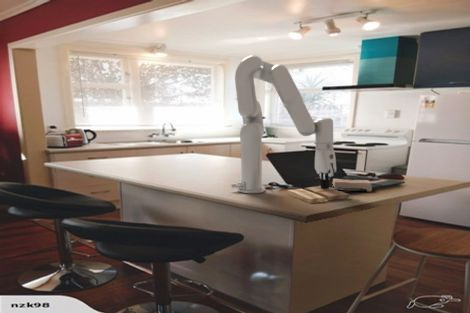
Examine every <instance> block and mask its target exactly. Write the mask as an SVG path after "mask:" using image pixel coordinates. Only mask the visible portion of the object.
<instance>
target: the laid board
mask: <svg viewBox="0 0 470 313" xmlns="http://www.w3.org/2000/svg"><path fill="white" fill-rule="evenodd" d="M286 194H287V195H289V196H291V197H294V198H296V199H298V200H300V201H303V202H305V203H308V204H310V203H311V204H318V202H320V203H327V201H328V200H325V197H322V196H320V195H317V194H314V193H312V192H309V191H306V190H305V189H303V188H295V189H287V193H286Z"/></svg>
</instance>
